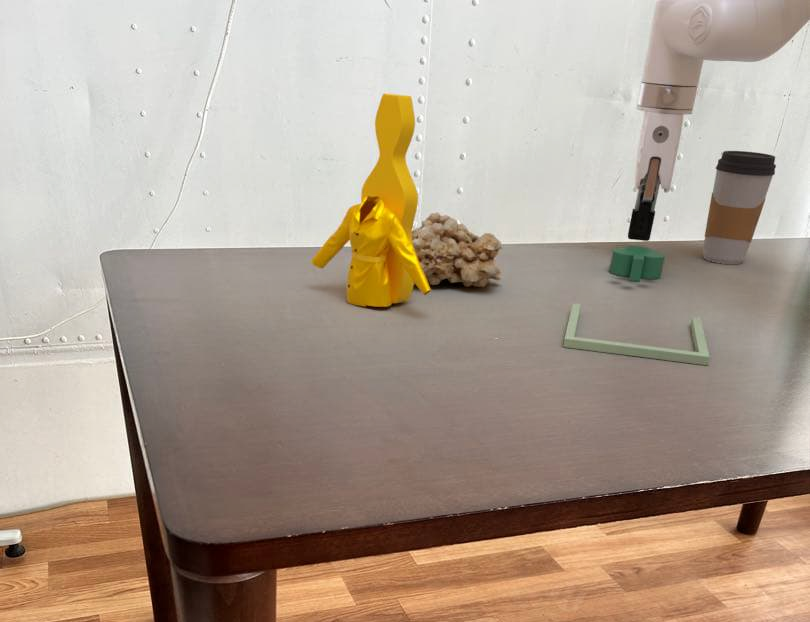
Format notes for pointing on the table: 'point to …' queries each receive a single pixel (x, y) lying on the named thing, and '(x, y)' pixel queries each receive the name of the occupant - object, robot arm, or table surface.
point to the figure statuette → (383, 218)
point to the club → (636, 263)
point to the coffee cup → (736, 204)
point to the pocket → (639, 350)
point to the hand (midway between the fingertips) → (638, 238)
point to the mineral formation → (455, 252)
